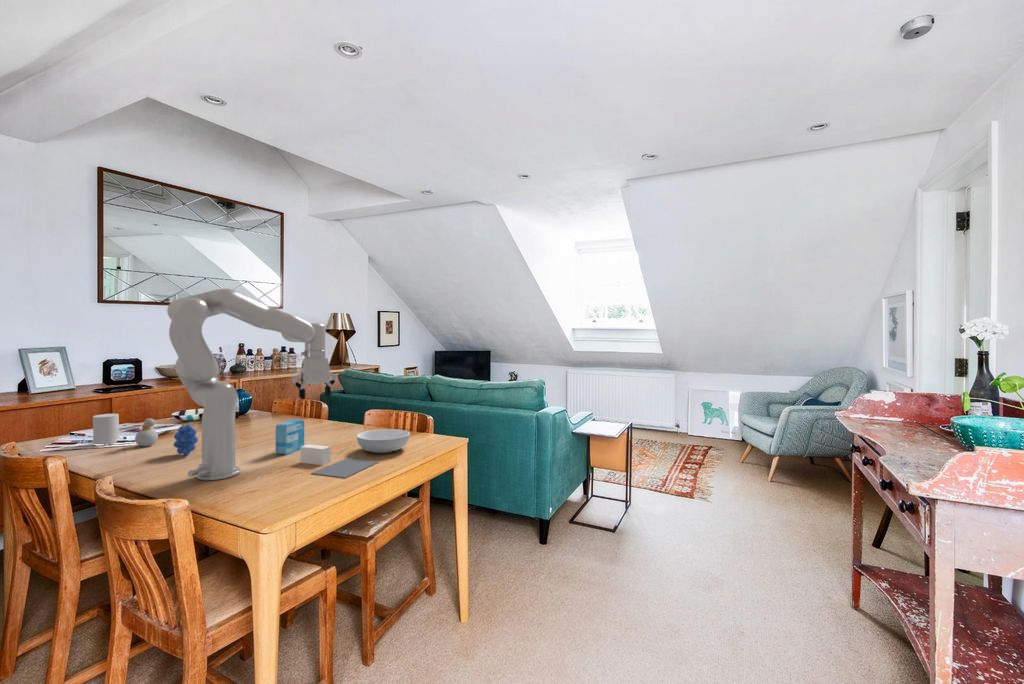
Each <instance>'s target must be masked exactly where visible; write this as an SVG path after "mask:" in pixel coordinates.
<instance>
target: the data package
mask: <svg viewBox="0 0 1024 684" xmlns="http://www.w3.org/2000/svg"><path fill="white" fill-rule="evenodd" d="M302 446H305V421H304V419H295V418H294V419H289V420H287V421H284V422H280V423H277V424H276V426H275V454H276V455H284V456H285V455H290V454H293V453H295V452H298V451H301V447H302Z"/></svg>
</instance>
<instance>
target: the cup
mask: <svg viewBox="0 0 1024 684" xmlns="http://www.w3.org/2000/svg"><path fill="white" fill-rule="evenodd" d="M119 416H120V415H119V413H103V414H96V415H93V416H92V439H93V440H92V441H93V442H92V444H93V443H94V444H104V445H106V444H113V443H116V442H117V439H118V438H119V439H120V420H119V419H120V417H119Z"/></svg>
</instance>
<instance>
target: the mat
mask: <svg viewBox="0 0 1024 684" xmlns="http://www.w3.org/2000/svg"><path fill="white" fill-rule="evenodd" d="M380 462H381V461H380V460H373V459H372V460H371V459H363V458H362V459H361V458H353V457H346V458H344V459H341V460H339V461H337V462H335V463H331V464H329V465H327V466H324V467H322V468H320V469H319V468H318V469H317V470H315V471H312V472H311V473H310V475H317V476H324V477H332V478H341V479H348V478H349V477H352V476H354V475H356V474H358V473H361V472H363V471H364V470H366V469H368V468H370V467H373V466H374V465H377V464H378V463H380Z"/></svg>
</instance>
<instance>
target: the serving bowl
mask: <svg viewBox="0 0 1024 684" xmlns="http://www.w3.org/2000/svg"><path fill="white" fill-rule="evenodd" d="M356 440H357V443H358V445H359V447H361V448H362V450H365V451H368V452H371V453H374V454H375V453H376V454H388V453H389V454H390V453H392V451H393V452H394V451H398V450H400V449H402V448H403V447H404V446H406V445H407V444H408V442H409V440H410V432H409V431H407V430H404V429H397V428H395V429H393V428H391V429H390V428H389V429H388V428H385V429H380V428H379V429H372V430H367V431H363V432H360V433H357V435H356Z"/></svg>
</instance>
